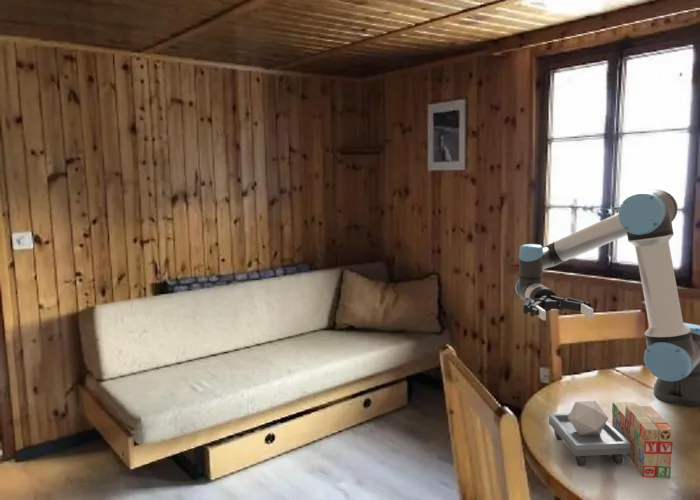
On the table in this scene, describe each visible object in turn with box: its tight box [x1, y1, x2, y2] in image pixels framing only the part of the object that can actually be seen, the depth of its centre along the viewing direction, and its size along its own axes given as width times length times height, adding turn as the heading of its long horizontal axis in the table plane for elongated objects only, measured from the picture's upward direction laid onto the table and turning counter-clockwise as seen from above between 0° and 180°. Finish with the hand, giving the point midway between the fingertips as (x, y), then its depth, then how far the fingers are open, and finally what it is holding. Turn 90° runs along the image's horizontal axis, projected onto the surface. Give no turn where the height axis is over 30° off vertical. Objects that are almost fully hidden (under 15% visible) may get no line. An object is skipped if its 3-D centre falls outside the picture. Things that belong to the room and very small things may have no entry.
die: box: [568, 400, 609, 436], centre depth 140 cm, size 8×9×10 cm
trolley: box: [548, 412, 630, 467], centre depth 141 cm, size 13×17×6 cm
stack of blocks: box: [611, 401, 675, 479], centre depth 138 cm, size 21×6×12 cm, turn 173°
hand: (568, 314), depth 157 cm, fingers open, 13 cm apart
